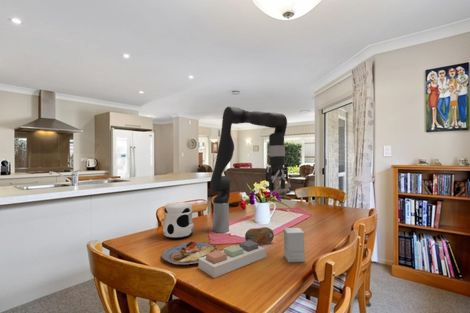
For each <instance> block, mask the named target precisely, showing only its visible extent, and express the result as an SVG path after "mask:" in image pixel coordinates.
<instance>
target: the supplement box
mask: <svg viewBox="0 0 470 313" xmlns="http://www.w3.org/2000/svg"><path fill="white" fill-rule="evenodd" d="M305 248H306V246H305V232H304V231H303V230H302V228H300V227H284V228H283V252H284V253H283V255H284V258H285V259H286V261H287V262H288V263H300V262H301V263H303V262H305V260H306V258H305V255H306V254H305V251H306V249H305Z"/></svg>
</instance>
